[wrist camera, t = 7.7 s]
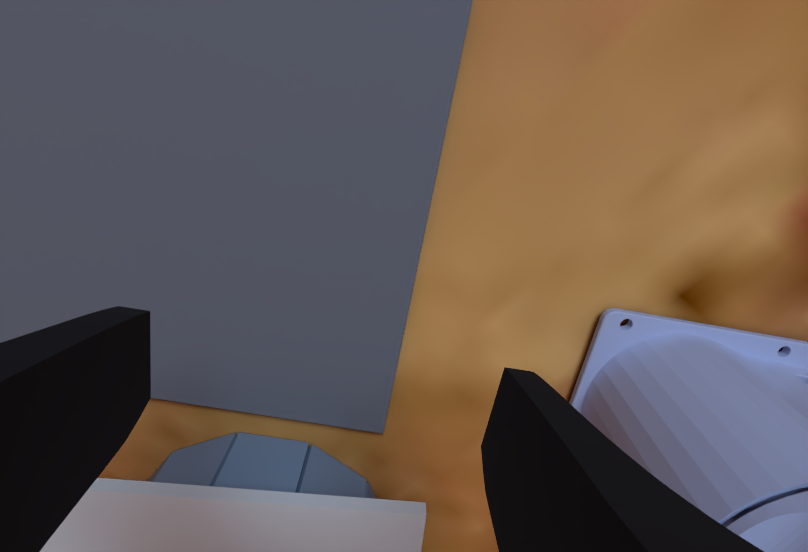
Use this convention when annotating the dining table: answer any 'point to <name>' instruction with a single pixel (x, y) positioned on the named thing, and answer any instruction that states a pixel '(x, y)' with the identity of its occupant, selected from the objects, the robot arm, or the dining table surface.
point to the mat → (228, 186)
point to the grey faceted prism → (262, 467)
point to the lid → (233, 521)
